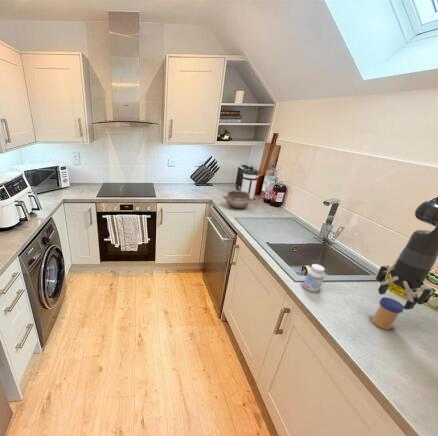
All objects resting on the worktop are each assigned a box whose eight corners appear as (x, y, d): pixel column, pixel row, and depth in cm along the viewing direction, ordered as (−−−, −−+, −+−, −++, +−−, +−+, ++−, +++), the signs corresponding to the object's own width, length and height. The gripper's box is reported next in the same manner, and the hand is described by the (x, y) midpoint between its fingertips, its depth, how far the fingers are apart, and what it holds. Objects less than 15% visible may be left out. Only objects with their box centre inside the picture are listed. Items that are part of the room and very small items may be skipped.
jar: (383, 318, 90) (393, 299, 86) (394, 330, 85) (406, 310, 81) (368, 317, 90) (378, 298, 86) (378, 328, 85) (389, 309, 82)
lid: (392, 301, 87) (394, 298, 86) (407, 314, 81) (409, 310, 80) (374, 300, 87) (376, 296, 87) (387, 312, 82) (389, 308, 81)
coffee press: (253, 196, 224) (259, 165, 212) (255, 202, 210) (262, 168, 198) (234, 195, 228) (239, 164, 216) (235, 200, 214) (240, 167, 202)
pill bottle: (300, 282, 109) (307, 262, 104) (315, 284, 108) (322, 263, 103) (306, 291, 104) (313, 270, 99) (321, 293, 102) (329, 272, 98)
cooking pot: (250, 204, 204) (253, 191, 199) (254, 212, 188) (257, 198, 183) (220, 202, 210) (222, 189, 205) (221, 209, 193) (223, 195, 188)
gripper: (453, 273, 71) (427, 314, 77) (398, 249, 84) (379, 286, 90) (435, 276, 69) (410, 318, 76) (381, 251, 82) (363, 288, 89)
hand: (393, 300), depth 83 cm, fingers open, 7 cm apart
